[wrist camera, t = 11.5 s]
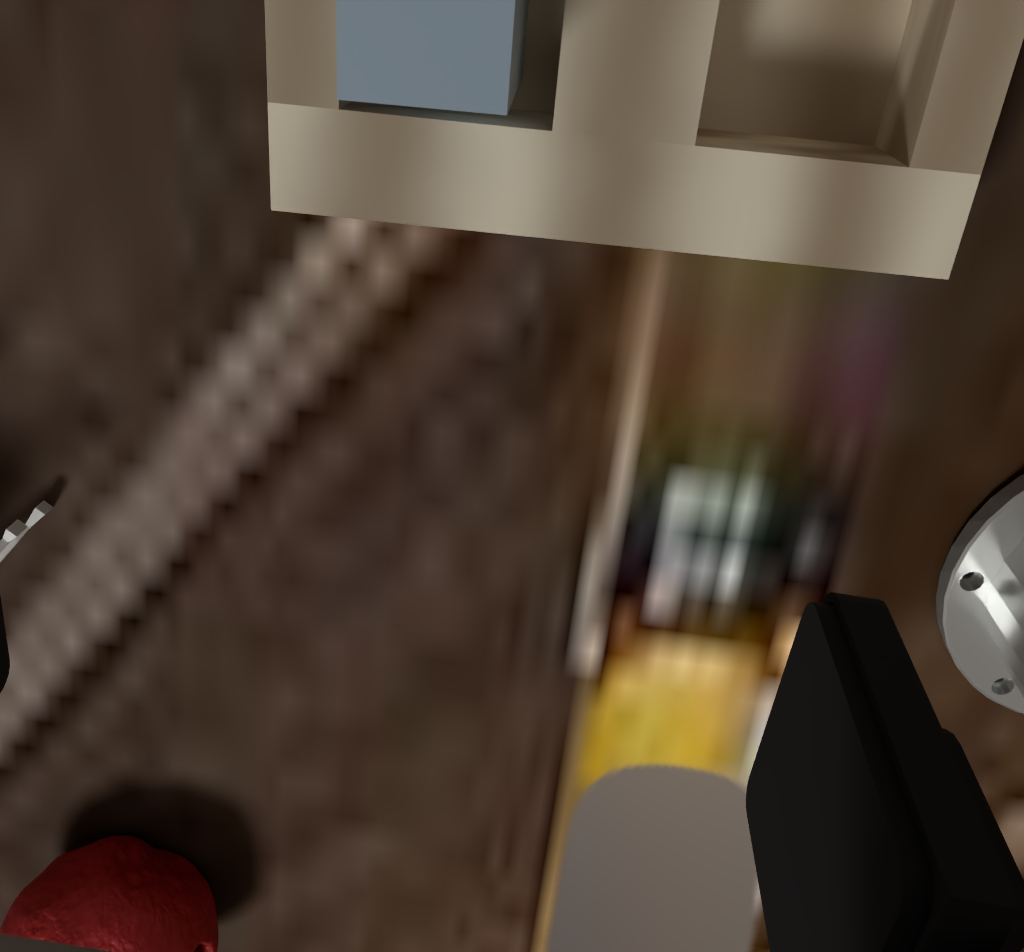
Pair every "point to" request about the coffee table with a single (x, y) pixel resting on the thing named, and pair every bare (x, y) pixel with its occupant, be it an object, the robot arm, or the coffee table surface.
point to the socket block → (675, 129)
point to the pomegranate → (118, 901)
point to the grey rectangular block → (431, 53)
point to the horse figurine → (21, 529)
